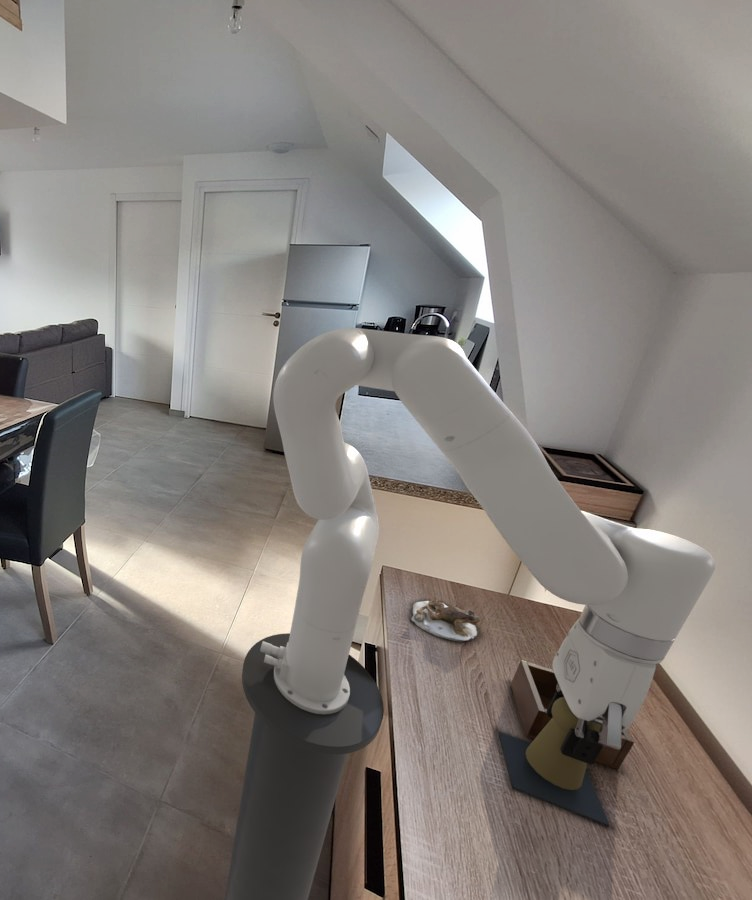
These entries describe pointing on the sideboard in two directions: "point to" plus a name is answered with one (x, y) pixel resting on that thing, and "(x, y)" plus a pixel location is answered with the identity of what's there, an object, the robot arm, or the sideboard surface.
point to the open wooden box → (534, 698)
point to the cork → (558, 749)
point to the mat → (549, 783)
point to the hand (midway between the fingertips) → (568, 736)
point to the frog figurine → (445, 620)
